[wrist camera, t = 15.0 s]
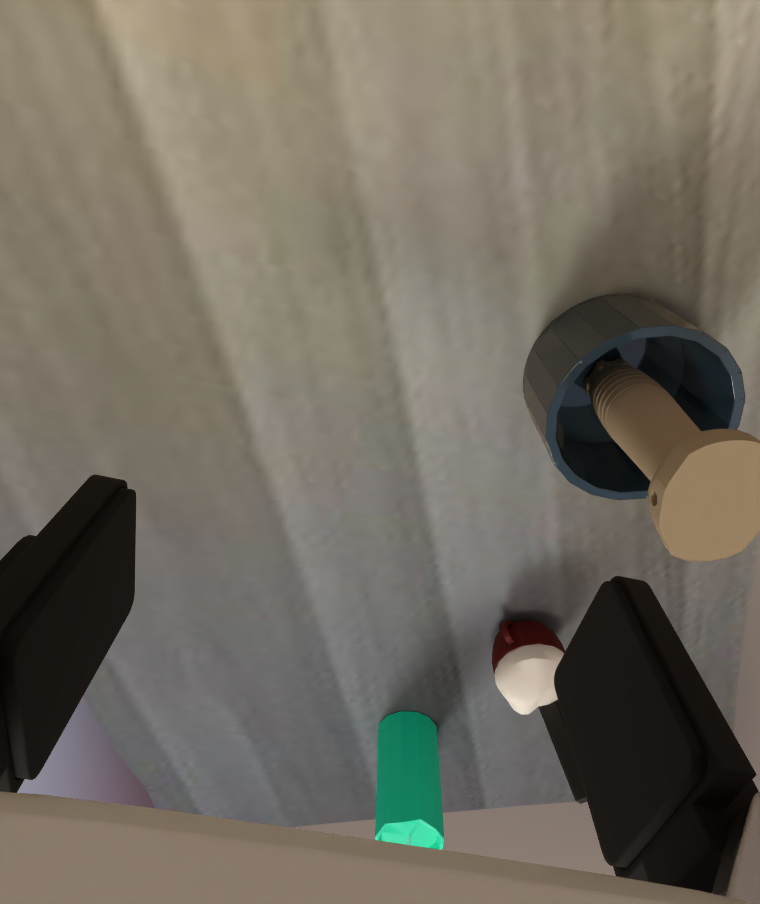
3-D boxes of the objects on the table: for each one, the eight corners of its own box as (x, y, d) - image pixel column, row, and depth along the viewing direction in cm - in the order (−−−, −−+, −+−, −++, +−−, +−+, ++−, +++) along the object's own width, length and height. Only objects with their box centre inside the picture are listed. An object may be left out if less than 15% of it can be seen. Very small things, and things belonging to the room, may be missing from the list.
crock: (557, 276, 36) (590, 305, 30) (719, 315, 37) (784, 350, 31) (501, 429, 41) (520, 480, 35) (644, 459, 42) (687, 515, 36)
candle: (449, 731, 57) (461, 864, 47) (405, 756, 60) (407, 888, 49) (409, 702, 56) (412, 834, 45) (365, 728, 58) (358, 860, 47)
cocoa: (482, 604, 49) (505, 730, 39) (556, 594, 48) (600, 721, 38) (493, 678, 54) (517, 810, 43) (561, 670, 53) (602, 802, 42)
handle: (649, 328, 37) (792, 435, 24) (638, 418, 40) (758, 557, 27) (573, 335, 37) (671, 444, 24) (567, 424, 40) (652, 564, 27)
